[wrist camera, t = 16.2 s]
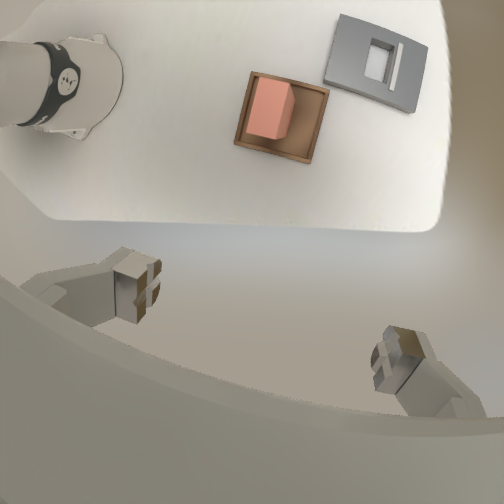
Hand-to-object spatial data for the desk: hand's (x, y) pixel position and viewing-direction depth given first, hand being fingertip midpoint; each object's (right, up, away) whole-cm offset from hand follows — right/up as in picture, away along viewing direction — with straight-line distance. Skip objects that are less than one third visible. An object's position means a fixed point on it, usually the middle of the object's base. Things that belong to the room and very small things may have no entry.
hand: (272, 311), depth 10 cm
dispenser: (+15, +26, +20) cm, 36 cm away
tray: (+3, +19, +25) cm, 32 cm away
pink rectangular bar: (+3, +19, +25) cm, 32 cm away
